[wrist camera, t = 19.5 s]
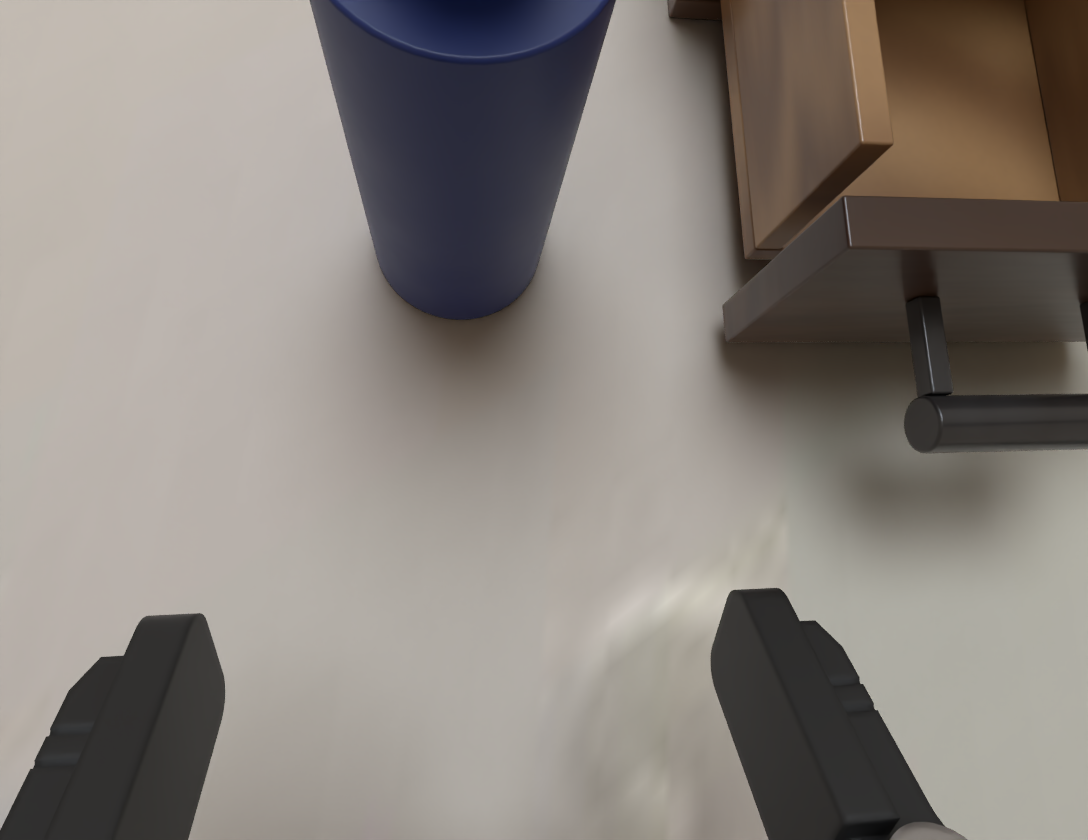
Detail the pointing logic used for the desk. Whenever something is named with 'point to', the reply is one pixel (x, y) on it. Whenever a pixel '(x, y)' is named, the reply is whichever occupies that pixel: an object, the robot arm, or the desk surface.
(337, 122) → the desk surface
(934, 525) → the desk surface
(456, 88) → the bottle
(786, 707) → the robot arm
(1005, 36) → the drawer
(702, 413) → the desk surface
